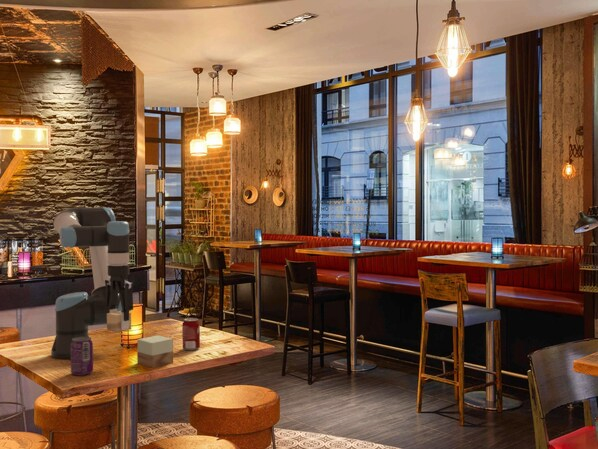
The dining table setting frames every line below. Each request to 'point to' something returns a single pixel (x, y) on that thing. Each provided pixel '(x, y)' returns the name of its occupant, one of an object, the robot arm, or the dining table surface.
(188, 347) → the soda can
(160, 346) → the tower top block
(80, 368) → the beverage can
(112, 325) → the oak cube
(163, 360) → the tower base block
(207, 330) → the dining table surface
